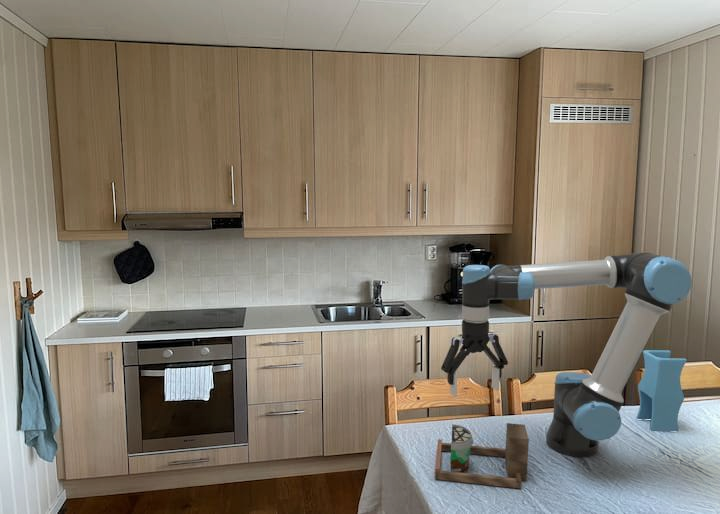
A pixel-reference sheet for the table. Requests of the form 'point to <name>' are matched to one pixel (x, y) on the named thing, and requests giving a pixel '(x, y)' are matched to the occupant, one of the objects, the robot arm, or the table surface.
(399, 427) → the table surface
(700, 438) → the table surface
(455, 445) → the food container
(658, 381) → the blue wavy channel stand
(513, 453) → the walnut bed frame
